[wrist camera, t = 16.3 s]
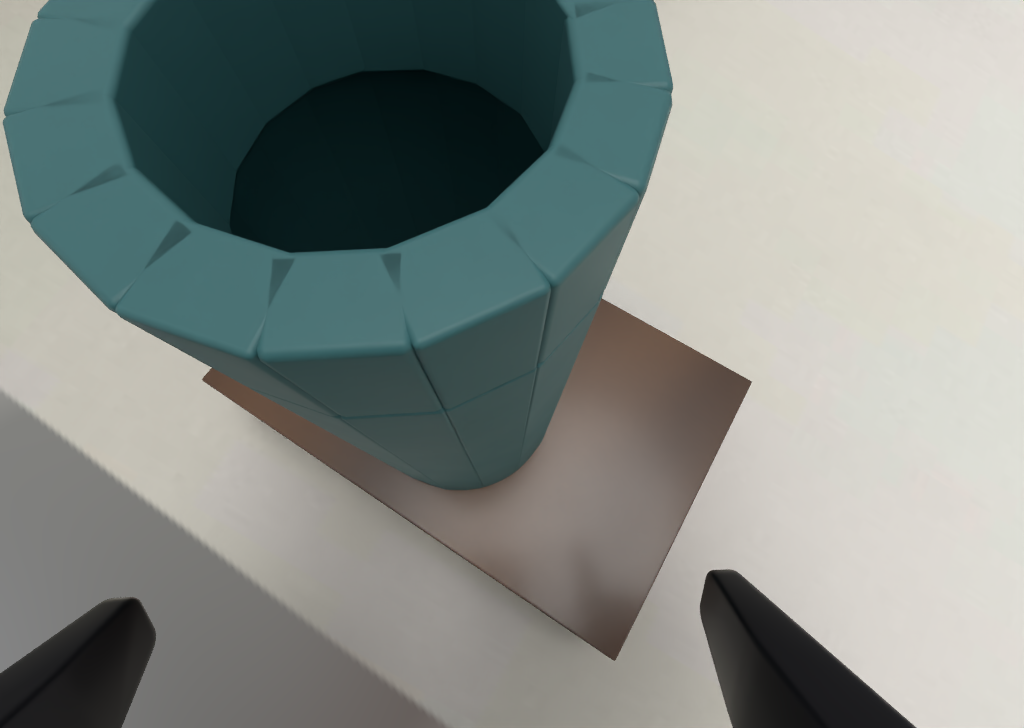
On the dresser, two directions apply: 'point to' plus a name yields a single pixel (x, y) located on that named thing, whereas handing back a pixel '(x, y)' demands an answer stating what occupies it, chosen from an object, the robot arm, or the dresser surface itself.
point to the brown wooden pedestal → (569, 477)
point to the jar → (351, 197)
